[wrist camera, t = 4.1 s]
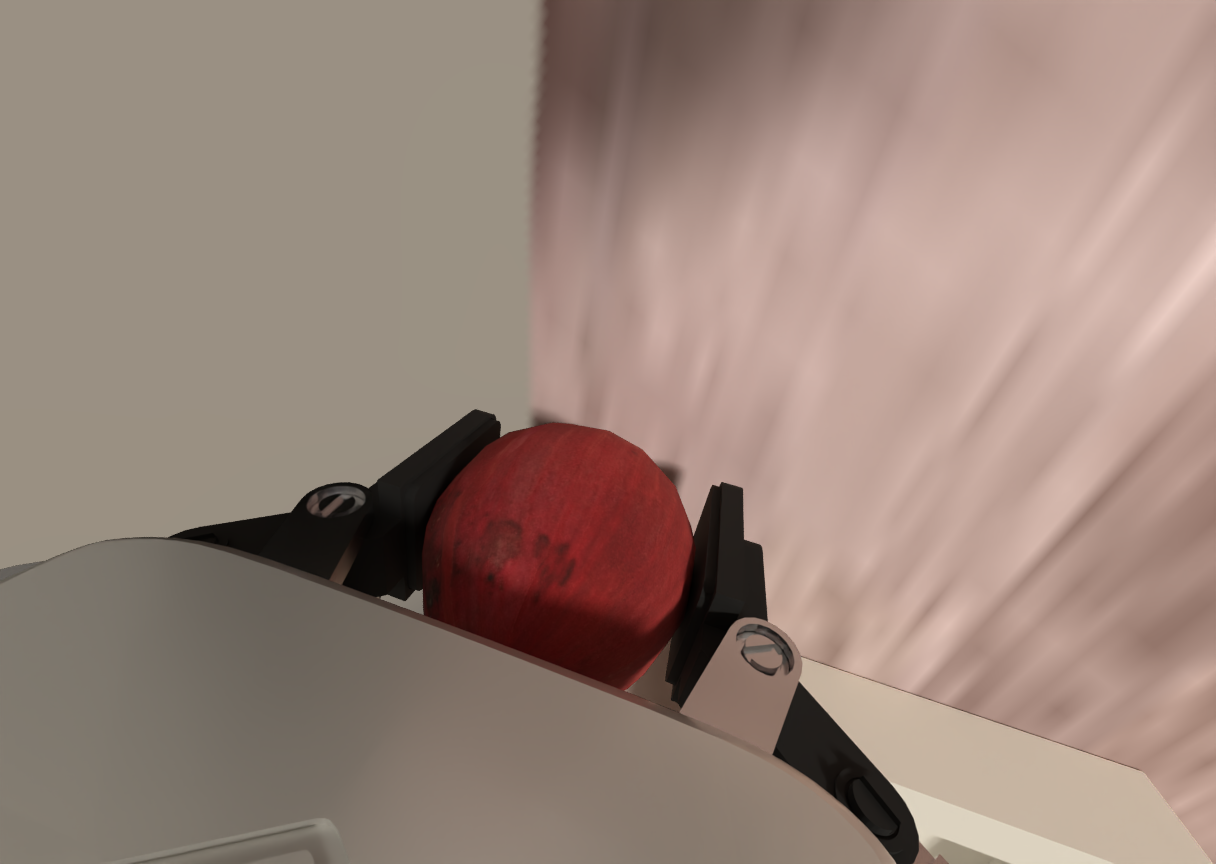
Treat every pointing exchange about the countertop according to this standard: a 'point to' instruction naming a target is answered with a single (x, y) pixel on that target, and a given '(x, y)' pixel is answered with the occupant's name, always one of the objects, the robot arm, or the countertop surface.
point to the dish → (1001, 783)
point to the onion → (562, 551)
